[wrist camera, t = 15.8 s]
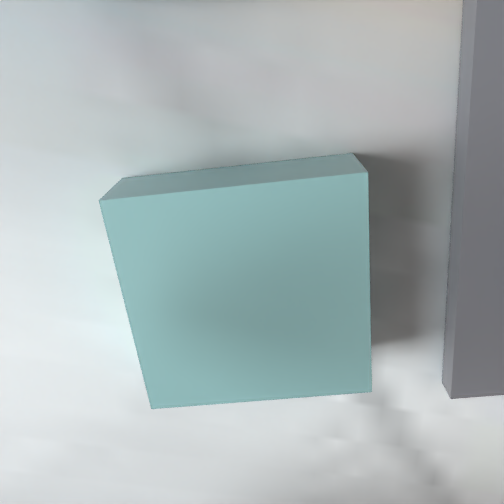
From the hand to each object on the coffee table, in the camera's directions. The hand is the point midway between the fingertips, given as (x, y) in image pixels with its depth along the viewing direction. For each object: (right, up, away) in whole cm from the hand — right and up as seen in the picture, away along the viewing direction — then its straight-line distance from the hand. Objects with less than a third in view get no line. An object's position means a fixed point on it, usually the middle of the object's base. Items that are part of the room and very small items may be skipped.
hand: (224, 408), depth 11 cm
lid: (0, +3, +8) cm, 8 cm away
